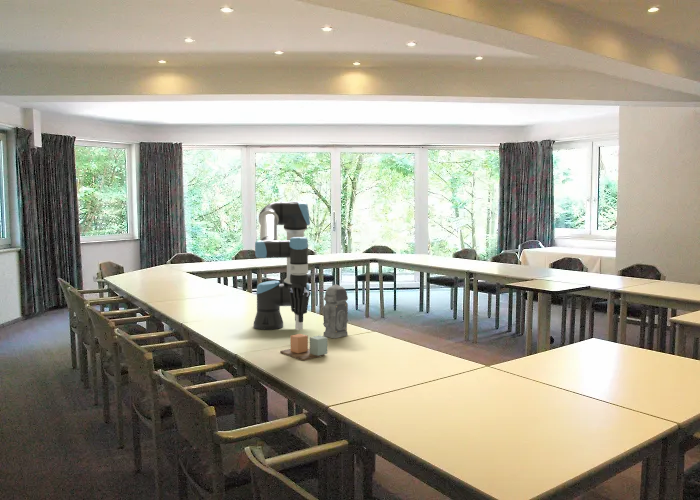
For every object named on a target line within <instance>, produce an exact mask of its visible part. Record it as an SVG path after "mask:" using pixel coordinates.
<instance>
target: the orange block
mask: <svg viewBox="0 0 700 500" xmlns="http://www.w3.org/2000/svg"><path fill="white" fill-rule="evenodd" d="M289 338H290V349H291V351H292V352H295V353H302V352H306V351H308V349H309V346H308V345H309V344H308V343H309V340H308V339H309V336H308V335H307V334H303V333H297V334H291V335H290V337H289Z"/></svg>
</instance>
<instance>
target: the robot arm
mask: <svg viewBox="0 0 700 500" xmlns="http://www.w3.org/2000/svg"><path fill="white" fill-rule="evenodd" d="M309 212H310V211H309V207H308V203H307V202H306V201H299V200H297V201H295V200H293V201H292V200H291V201H273V202H271V203H268V204H267V205H265V206H264V207H263V208H262V209H261V210H260V213H259V214H258V223H259V224H260V232H259V233H260V235H259V240H256V241H255V242H254V243H255V244H254V254H255V257H256V259H257V258H258V259H259V258H260V259H279V258H281V259H284V258H285V259H286V278H285V279H283V283H281V282H280V281H279V280H268V281H264V282H260V283H258V284H257V285H256V313H255V317H254V319H253V320H254V321H253V328H254V329H257V330H264V331H265V330H266V331H267V330H278V329H281V328H283V327H284V320H283V317H282V314H281V307H290V310H291V312H292V313H294V321H295V331H300V330H301V331H302V330H303V329H304V314H307V313H308V307H309V300H310V296H311V295H312V294H311V291H310V283H309V275H308V273H309V261H308V259H309V243H308V240H309V239H308V238H307V237H306V236H305V231H306V230H307V229H308V226H310V225H311V221H310V213H309ZM278 226H283V229H284V230H285V232H286V240H280V239H279V240H278V230H277V229H278V228H277V227H278Z"/></svg>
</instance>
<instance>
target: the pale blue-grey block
mask: <svg viewBox="0 0 700 500" xmlns="http://www.w3.org/2000/svg"><path fill="white" fill-rule="evenodd" d="M309 349H310V354H313V355H316V356H320V355H324V356H325V355H327V354H328V337H325V336H324V335H316V336H311V337H309Z"/></svg>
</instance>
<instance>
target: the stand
mask: <svg viewBox="0 0 700 500" xmlns="http://www.w3.org/2000/svg"><path fill="white" fill-rule="evenodd" d="M279 352H280V354H282V355H285V354H286V356H289V357H291V358H295V359H298V360H301V361H304V362H305V361H308V360H312V359H316V358H320V357H324V356H325V354H324V355H320V356H316V355H313V354H310V348H308V351H306V352H302V353H295V352H292V351H291V348H288V349H284V350H280V351H279Z"/></svg>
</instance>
